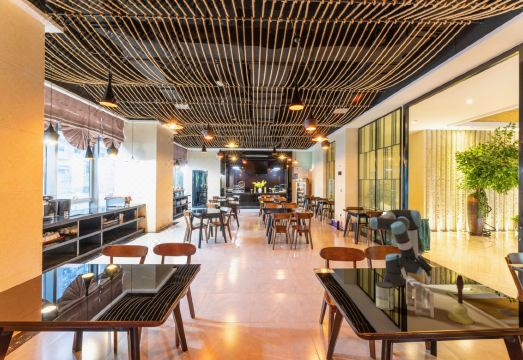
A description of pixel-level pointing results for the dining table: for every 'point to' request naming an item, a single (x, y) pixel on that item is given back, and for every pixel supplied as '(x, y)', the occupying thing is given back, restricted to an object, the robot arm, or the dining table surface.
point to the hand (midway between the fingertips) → (417, 279)
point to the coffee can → (384, 295)
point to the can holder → (420, 298)
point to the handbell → (460, 306)
